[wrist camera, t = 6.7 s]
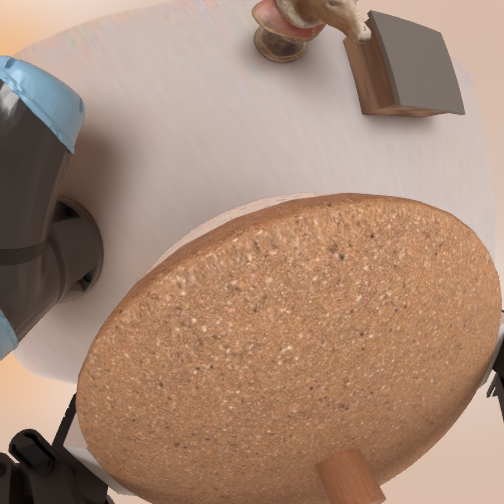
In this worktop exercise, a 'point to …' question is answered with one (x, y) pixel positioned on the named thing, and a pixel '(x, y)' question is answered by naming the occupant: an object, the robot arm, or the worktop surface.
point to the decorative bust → (303, 25)
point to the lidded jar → (292, 353)
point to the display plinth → (403, 70)
